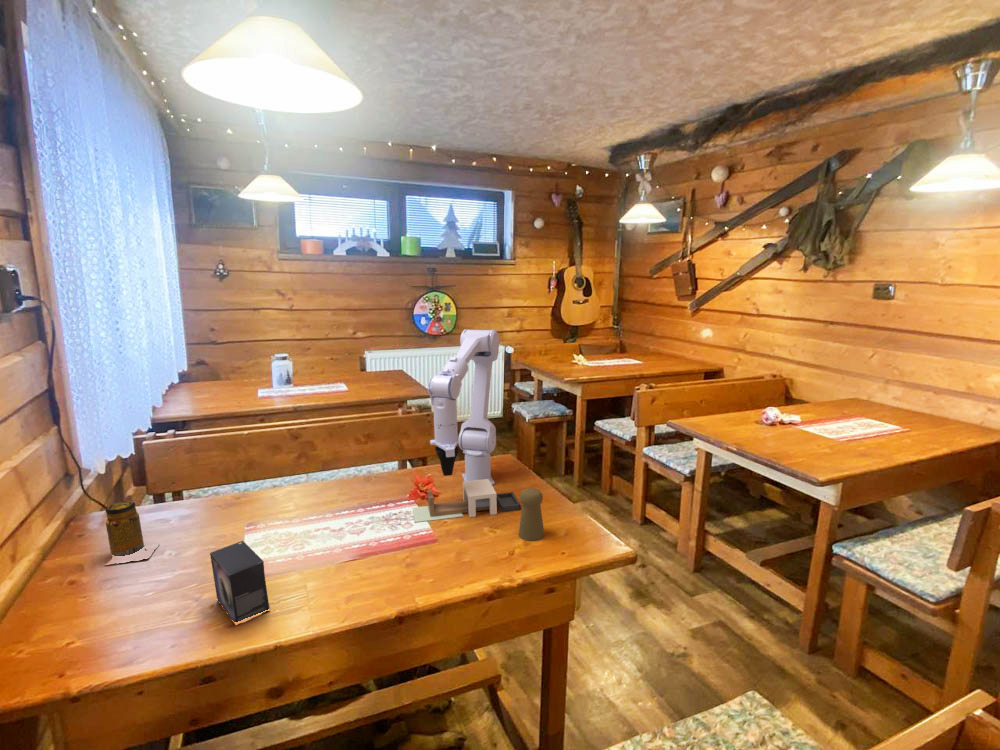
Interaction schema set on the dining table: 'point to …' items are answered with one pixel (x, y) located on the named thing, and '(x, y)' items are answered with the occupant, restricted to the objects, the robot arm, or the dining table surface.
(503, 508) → the dark grey tray
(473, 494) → the tunnel
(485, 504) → the brown t-shaped bar
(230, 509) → the dining table surface
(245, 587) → the small box
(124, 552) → the condiment
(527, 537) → the olive brown pawn
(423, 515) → the mat
